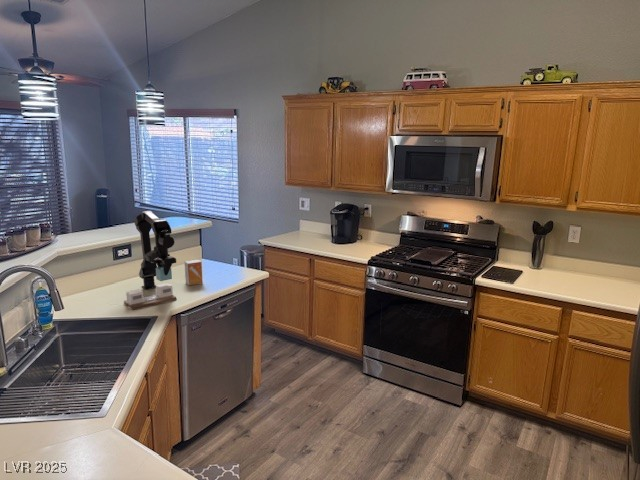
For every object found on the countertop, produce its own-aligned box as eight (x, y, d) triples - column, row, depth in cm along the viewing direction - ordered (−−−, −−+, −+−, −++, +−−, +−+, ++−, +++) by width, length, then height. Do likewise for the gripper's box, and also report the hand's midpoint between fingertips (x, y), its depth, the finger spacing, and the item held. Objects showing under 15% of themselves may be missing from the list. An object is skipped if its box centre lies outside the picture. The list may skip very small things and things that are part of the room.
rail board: (124, 303, 222) (123, 301, 221) (166, 294, 236) (166, 291, 236) (133, 310, 213) (132, 307, 213) (176, 299, 228) (176, 297, 227)
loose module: (156, 279, 227) (155, 267, 226) (167, 276, 231) (166, 265, 230) (160, 281, 224) (159, 269, 223) (172, 278, 228) (171, 267, 227)
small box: (189, 285, 250) (187, 263, 248) (185, 283, 256) (184, 261, 253) (203, 283, 255) (201, 261, 252) (199, 280, 260) (198, 259, 257)
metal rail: (126, 302, 219) (125, 301, 219) (168, 292, 234) (168, 291, 234) (130, 305, 215) (130, 304, 215) (173, 295, 229) (173, 294, 229)
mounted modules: (126, 301, 219) (126, 291, 218) (167, 292, 233) (167, 283, 232) (131, 304, 215) (130, 294, 214) (173, 295, 229) (172, 285, 228)
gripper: (138, 244, 225) (140, 273, 228) (153, 250, 212) (156, 281, 215) (159, 240, 232) (161, 269, 236) (175, 246, 219) (177, 276, 223)
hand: (163, 274), depth 227 cm, fingers closed on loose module, 5 cm apart
